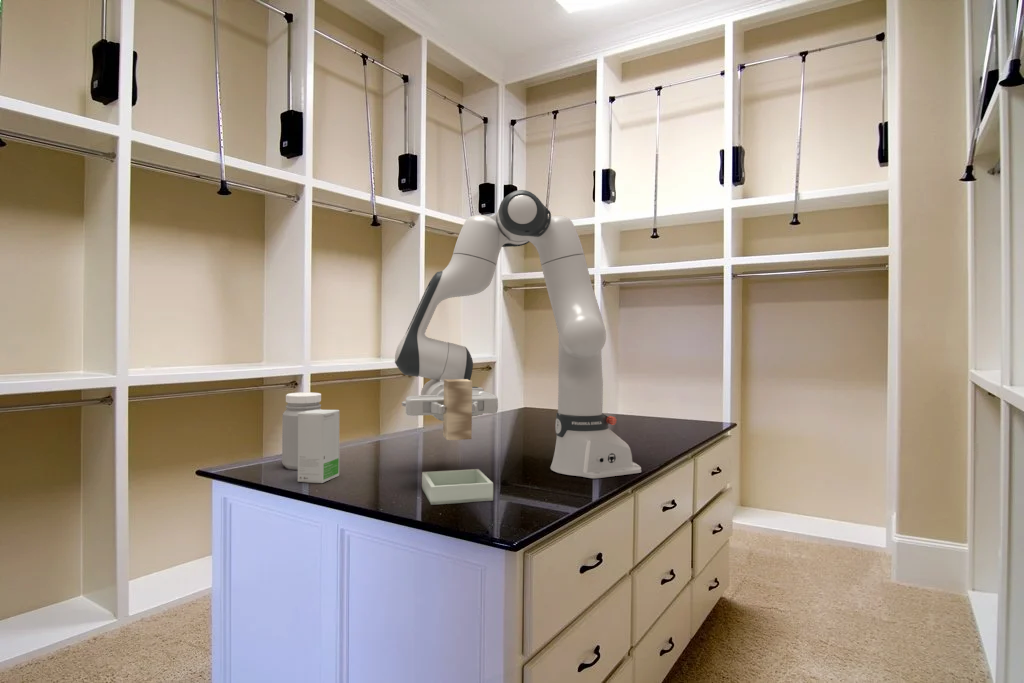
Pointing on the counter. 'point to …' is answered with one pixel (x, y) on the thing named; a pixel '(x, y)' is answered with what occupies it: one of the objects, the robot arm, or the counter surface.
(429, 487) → the dish
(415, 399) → the robot arm
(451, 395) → the oak block
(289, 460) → the jar
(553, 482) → the counter surface
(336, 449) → the skincare box
